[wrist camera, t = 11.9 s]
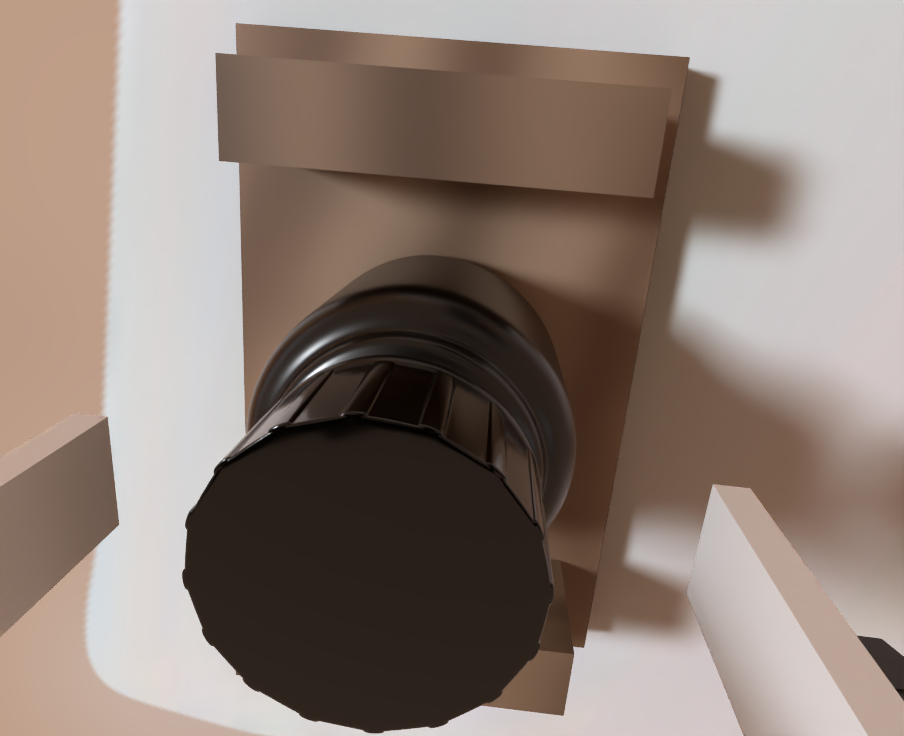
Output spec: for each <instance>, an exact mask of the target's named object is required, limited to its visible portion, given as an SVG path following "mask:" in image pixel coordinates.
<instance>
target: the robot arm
mask: <svg viewBox="0 0 904 736" xmlns="http://www.w3.org/2000/svg"><path fill="white" fill-rule="evenodd" d="M118 525H119V520H118V510H117V501H116V492H115V482H114V473H113V464H112V454H111V445H110V436H109V426H108V417H104V416H94V415H86V414H77V413H74V414H72V415H70V416H69V417H67V418H65V419H63V420H62V421H60V422H58V423H57V424H55V425H53V426H52V427H50V428H48V429H47V430H45V431H43V432H41V433H40V434H38V435H36V436H35V437H33V438H31V439H30V440H28V441H26V442H25V443H23V444H21V445H20V446H18V447H16V448H15V449H13V450H11V451H10V452H8V453H6V454H4V455H3V456H1V457H0V637H1V636H2V635H3V634H4V633H5V632H6V631H7V630H8V629H9V628H10V627H11V626H12V625H13V624H14V623H16V622H17V621H18V620H19V619H20V618H21V617H22V616H23V615H24V614H25V613H26V612H27V611H28V610H29V609H30V608H31V607H33V606H34V605H35V604H36V603H37V602H38V601H39V600H40V599H41V598H42V597H43V596H44V595H45V594H46V593H47V592H48V591H49V590H51V588H53V586H55V585H56V584H57V583H58V582H59V581H60V580H61V579H62V578H63V577H64V576H65V575H66V574H67V573H68V572H70V570H72V569H73V568H74V567H75V566H76V565H77V564H78V563H79V562H80V561H81V560H82V559H83V558H84V557H85V556H86V555H87V554H89V553H90V552H91V551H92V550H93V549H94V548H95V547H96V546H97V545H98V544H99V543H100V542H101V541H102V540H103V539H104V538H105V537H107V536H108V535H109V534H110V533H111V532H112V531H113V530H114V529H115V528H116V527H117V526H118ZM687 596H688V598H689V601H690V603H691V606H692V608H693V611H694V613H695V616H696V618H697V621H698V623H699V626H700V628H701V631H702V633H703V636H704V638H705V641H706V643H707V646H708V648H709V650H710V653H711V655H712V658H713V660H714V663H715V665H716V668H717V670H718V673H719V675H720V678H721V680H722V683H723V685H724V688H725V690H726V693H727V695H728V698H729V700H730V703H731V705H732V708H733V710H734V713H735V715H736V718H737V720H738V722H739V725H740V727H741V730H742V732H743V735H744V736H904V656H902V655H901V654H900V653H899V652H897V651H896V650H895V649H894V648H892V647H891V646H890V645H889V644H887V643H886V642H885V641H884V640H882V639H879V638H871V637H863V636H856V634H855V633H854V631H853V630H852V629H851V627H850V626H849V624H848V623H847V622H846V620H845V619H844V618H843V616H842V615H841V613H840V612H839V611H838V609H837V608H836V606H835V605H834V604H833V602H832V601H831V600H830V598H829V597H828V595H827V594H826V593H825V591H824V590H823V588H822V587H821V586H820V584H819V583H818V581H817V580H816V579H815V577H814V576H813V575H812V573H811V572H810V570H809V569H808V568H807V566H806V565H805V563H804V562H803V561H802V559H801V558H800V557H799V555H798V554H797V552H796V551H795V550H794V548H793V547H792V545H791V544H790V543H789V541H788V540H787V539H786V537H785V536H784V534H783V533H782V532H781V530H780V529H779V527H778V526H777V525H776V523H775V522H774V520H773V519H772V518H771V516H770V515H769V514H768V512H767V511H766V509H765V508H764V507H763V505H762V504H761V502H760V501H759V500H758V498H757V497H756V496H755V494H754V493H753V491H752V490H751V489H750V488H744V487H735V486H726V485H717V484H713V485H712V490H711V494H710V498H709V502H708V506H707V510H706V514H705V519H704V523H703V527H702V531H701V535H700V539H699V543H698V548H697V552H696V556H695V560H694V564H693V568H692V573H691V577H690V581H689V585H688V589H687Z"/></svg>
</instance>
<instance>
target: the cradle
mask: <svg viewBox="0 0 904 736" xmlns="http://www.w3.org/2000/svg"><path fill="white" fill-rule="evenodd" d="M236 48H237V55H234V54H221V53H216V81H217V112H218V142H219V161H227V162H238V163H239V175H240V217H241V259H242V302H243V344H244V386H245V428H246V427H247V417H248V411H249V406H250V402H251V398H252V395H253V392H254V389H255V386H256V383H257V381H258V379H259V376H260V374H261V372H262V370H263V368H264V366H265V364H266V363H267V361H268V359H269V358H270V356H271V355H272V353H273V352H274V350H275V349H276V348H277V346H278V345H279V344H280V342H281V341H282V340H283V339H284V338H285V337H286V335H287V334H288V333H289V332H290V331H291V330H292V329H293V328H294V327H295V326H296V325H297V324H298V323H300V322H301V321H302V320H303V319H304V318H305V317H307V316H308V315H309V314H310V313H312V312H313V311H314V310H315V309H317V308H318V307H319V306H321V305H322V304H323V303H324V302H326V301H327V300H328V299H330V298H331V297H332V296H334V295H335V294H336V293H337V292H339V291H340V290H341V289H343V288H344V287H345V286H346V285H348V284H349V283H350V282H352V281H353V280H354V279H356V278H357V277H359V276H360V275H362V274H363V273H365V272H367V271H368V270H370V269H372V268H374V267H376V266H378V265H381V264H383V263H386V262H388V261H391V260H395V259H398V258H403V257H408V256H415V255H438V256H446V257H452V258H456V259H460V260H463V261H467V262H470V263H472V264H475V265H477V266H480V267H482V268H484V269H486V270H488V271H490V272H492V273H493V274H495V275H497V276H498V277H500V278H501V279H503V280H504V281H506V282H507V283H508V284H510V285H511V286H512V287H513V288H514V289H516V290H517V291H518V292H519V293H520V294H521V295H522V296H523V297H524V298H525V299H526V300H527V301H528V302H529V304H530V305H531V306H532V307H533V309H534V310H535V311H536V313H537V314H538V315H539V317H540V319H541V320H542V322H543V324H544V325H545V327H546V329H547V331H548V333H549V335H550V338H551V340H552V343H553V345H554V348H555V352H556V355H557V358H558V362H559V365H560V369H561V372H562V376H563V379H564V383H565V386H566V390H567V393H568V396H569V400H570V404H571V407H572V411H573V416H574V422H575V429H576V460H575V467H574V472H573V477H572V481H571V484H570V487H569V490H568V493H567V496H566V498H565V501H564V503H563V505H562V507H561V509H560V511H559V513H558V515H557V517H556V518H555V520H554V521H553V523H552V525H551V526H550V527H549V529H548V530H547V534H548V542H549V551H550V559H551V567H552V575H553V583H554V600H553V603H552V604H550V606H549V610H548V614H547V618H546V621H545V625H544V628H543V631H542V635H541V638H540V649H539V651H538V653H537V655H536V656H535V658H534V659H533V660H531V661H529V662H528V663H527V664H526V665H525V666H524V667H523V668H522V670H521V671H520V672H519V673H518V674H517V675H516V676H515V678H514V679H513V680H512V681H511V682H510V683H509V684H508V685H507V686H506V687H505V688H504V689H503V693H502V695H501V696H500V697H499V698H497V699H496V700H495V701H493V702H491V703H485V704H483V705H482V706H490V707H498V708H506V709H514V710H522V711H530V712H538V713H546V714H554V715H562V716H563V715H564V710H565V704H566V698H567V692H568V687H569V681H570V675H571V669H572V664H573V658H574V650H573V646H574V647H582V648H584V645H585V639H586V634H587V628H588V623H589V617H590V611H591V606H592V600H593V595H594V589H595V583H596V578H597V572H598V567H599V561H600V556H601V550H602V544H603V539H604V533H605V528H606V522H607V516H608V511H609V505H610V500H611V494H612V489H613V483H614V477H615V472H616V466H617V461H618V455H619V449H620V444H621V438H622V433H623V427H624V422H625V416H626V410H627V405H628V399H629V394H630V388H631V382H632V377H633V371H634V366H635V360H636V355H637V349H638V343H639V338H640V332H641V327H642V321H643V315H644V310H645V304H646V299H647V293H648V288H649V282H650V276H651V271H652V265H653V260H654V254H655V248H656V243H657V237H658V232H659V226H660V221H661V215H662V209H663V204H664V198H665V193H666V187H667V181H668V176H669V170H670V165H671V159H672V154H673V148H674V142H675V137H676V131H677V126H678V120H679V115H680V109H681V103H682V98H683V92H684V87H685V81H686V75H687V70H688V64H689V59H690V57H677V56H663V55H650V54H637V53H624V52H610V51H597V50H584V49H571V48H557V47H544V46H531V45H517V44H504V43H491V42H478V41H464V40H451V39H438V38H425V37H411V36H398V35H385V34H372V33H358V32H345V31H332V30H318V29H305V28H292V27H279V26H265V25H252V24H239V23H236ZM236 675H239V673H238V672H237V671H236Z"/></svg>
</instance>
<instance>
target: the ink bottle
mask: <svg viewBox="0 0 904 736" xmlns="http://www.w3.org/2000/svg"><path fill="white" fill-rule="evenodd" d="M575 460H576V429H575V422H574V416H573V411H572V407H571V404H570V400H569V396H568V393H567V390H566V386H565V383H564V379H563V376H562V372H561V369H560V365H559V362H558V358H557V355H556V352H555V348H554V345H553V343H552V340H551V338H550V335H549V333H548V331H547V329H546V327H545V325H544V324H543V322H542V320H541V319H540V317H539V315H538V314H537V313H536V311H535V310H534V309H533V307H532V306H531V305H530V304H529V302H528V301H527V300H526V299H525V298H524V297H523V296H522V295H521V294H520V293H519V292H518V291H517V290H516V289H514V288H513V287H512V286H511V285H510V284H508V283H507V282H506V281H504V280H503V279H501V278H500V277H498V276H497V275H495V274H493V273H492V272H490V271H488V270H486V269H484V268H482V267H480V266H477V265H475V264H472V263H470V262H467V261H463V260H460V259H456V258H452V257H446V256H438V255H415V256H408V257H403V258H398V259H395V260H391V261H388V262H386V263H383V264H381V265H378V266H376V267H374V268H372V269H370V270H368V271H367V272H365V273H363V274H362V275H360V276H359V277H357V278H356V279H354V280H353V281H352V282H350V283H349V284H348V285H346V286H345V287H344V288H343V289H341V290H340V291H339V292H337V293H336V294H335V295H334V296H332V297H331V298H330V299H328V300H327V301H326V302H324V303H323V304H322V305H321V306H319V307H318V308H317V309H315V310H314V311H313V312H312V313H310V314H309V315H308V316H307V317H305V318H304V319H303V320H302V321H301V322H300V323H298V324H297V325H296V326H295V327H294V328H293V329H292V330H291V331H290V332H289V333H288V334H287V335H286V337H285V338H284V339H283V340H282V341H281V342H280V344H279V345H278V346H277V348H276V349H275V350H274V352H273V353H272V355H271V356H270V358H269V359H268V361H267V363H266V364H265V366H264V368H263V370H262V372H261V374H260V376H259V379H258V381H257V383H256V386H255V389H254V392H253V395H252V398H251V402H250V406H249V411H248V417H247V427H246V435H245V436H244V437H243V438H242V439H241V441H240V442H239V443H238V444H237V445H236V446H235V447H234V448H233V449H232V450H231V451H230V452H229V453H228V454H227V455H226V456H225V457H224V458H223V460H222V461H221V462H220V463H219V464H218V465H217V466H216V467H215V469H214V476H213V477H212V479H211V480H210V482H209V483H208V485H207V487H206V488H205V490H204V492H203V493H202V495H201V497H200V499H199V500H198V502H197V504H196V505H195V506H194V507H193V508H192V509H191V510H190V512H189V513H188V516H187V519H186V523H185V527H186V529H187V539H186V553H185V569H184V570H183V573H182V578H183V584H184V587H185V588H186V589H187V590H188V592H189V594H190V597H191V600H192V602H193V605H194V608H195V610H196V613H197V615H198V618H199V620H200V623H201V625H202V633H203V635H204V637H205V639H206V640H207V642H208V643H209V644H210V645H211V646H214V647H215V648H216V649H217V650H218V652H219V653H220V654H221V655H222V656H223V657H224V658H225V659H226V660H227V662H228V663H229V664H230V665H231V666H232V667H233V668H234V669H235V670H236V671H237V672H238V673H239V675H240V676H241V677H242V678H243V681H244V682H245V684H247V685H248V686H249V687H250V688H251V689H253V690H255V691H257V692H261V693H263V694H265V695H267V696H269V697H270V698H272V699H274V700H276V701H277V702H279V703H281V704H283V705H285V706H286V707H288V708H290V709H292V710H294V711H296V712H297V713H299V715H300V716H301V717H303V718H305V719H308V720H311V721H315V722H317V721H322V722H327V723H331V724H336V725H341V726H346V727H350V728H355V729H360V730H363V731H365V732H367V733H383V732H384V731H391V730H402V729H411V728H420V727H429V728H435V727H439V726H443V725H445V724H447V723H448V721H449V720H451V719H454V718H456V717H458V716H460V715H462V714H464V713H466V712H469V711H471V710H473V709H475V708H477V707H479V706H481V705H483V704H485V703H491V702H493V701H495V700H496V699H497V698H499V697H500V696H501V695H502V693H503V689H504V688H505V687H506V686H507V685H508V684H509V683H510V682H511V681H512V680H513V679H514V678H515V676H516V675H517V674H518V673H519V672H520V671H521V670H522V668H523V667H524V666H525V665H526V664H527V663H528V662H529V661H531V660H533V659H534V658H535V656H536V655H537V653H538V651H539V649H540V638H541V635H542V631H543V628H544V625H545V621H546V618H547V614H548V610H549V606H550V604H552V603H553V600H554V583H553V575H552V567H551V559H550V551H549V542H548V534H547V530H548V529H549V527H550V526H551V525H552V523H553V521H554V520H555V518H556V517H557V515H558V513H559V511H560V509H561V507H562V505H563V503H564V501H565V498H566V496H567V493H568V490H569V487H570V484H571V481H572V477H573V472H574V467H575Z"/></svg>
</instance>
